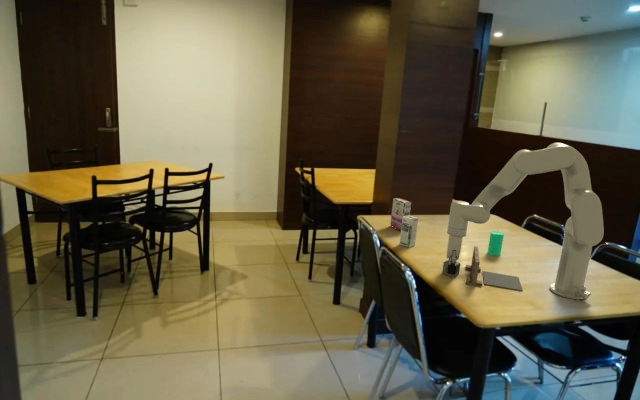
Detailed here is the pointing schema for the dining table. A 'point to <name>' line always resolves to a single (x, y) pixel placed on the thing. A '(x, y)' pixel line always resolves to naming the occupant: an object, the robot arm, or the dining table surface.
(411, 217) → the syrup box
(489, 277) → the grey mat
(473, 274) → the walnut screen
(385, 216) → the dining table surface
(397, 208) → the candy bar box
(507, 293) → the dining table surface
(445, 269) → the dice cube
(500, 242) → the candle
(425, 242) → the dining table surface
